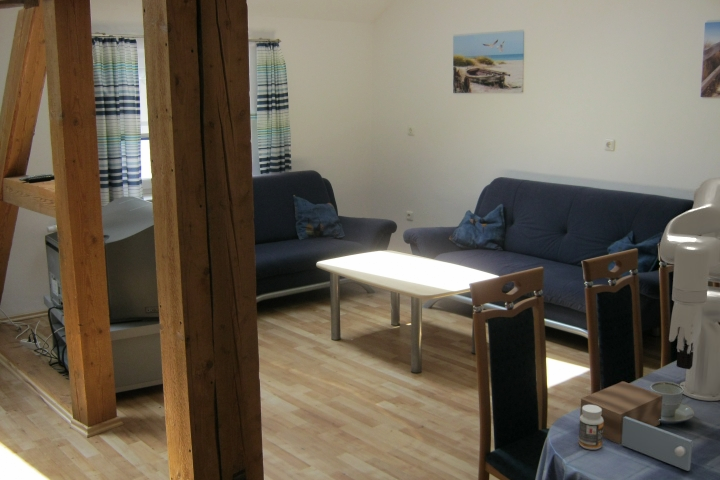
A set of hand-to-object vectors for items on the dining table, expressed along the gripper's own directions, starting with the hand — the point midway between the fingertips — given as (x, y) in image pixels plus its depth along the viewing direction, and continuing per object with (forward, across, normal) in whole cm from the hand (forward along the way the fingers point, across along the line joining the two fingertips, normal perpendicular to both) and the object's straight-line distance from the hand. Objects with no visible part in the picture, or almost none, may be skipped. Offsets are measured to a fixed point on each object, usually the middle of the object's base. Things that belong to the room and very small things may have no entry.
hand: (684, 366), depth 179 cm
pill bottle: (+21, +12, -18) cm, 30 cm away
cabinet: (+22, -3, -16) cm, 27 cm away
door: (+21, +10, -3) cm, 23 cm away
